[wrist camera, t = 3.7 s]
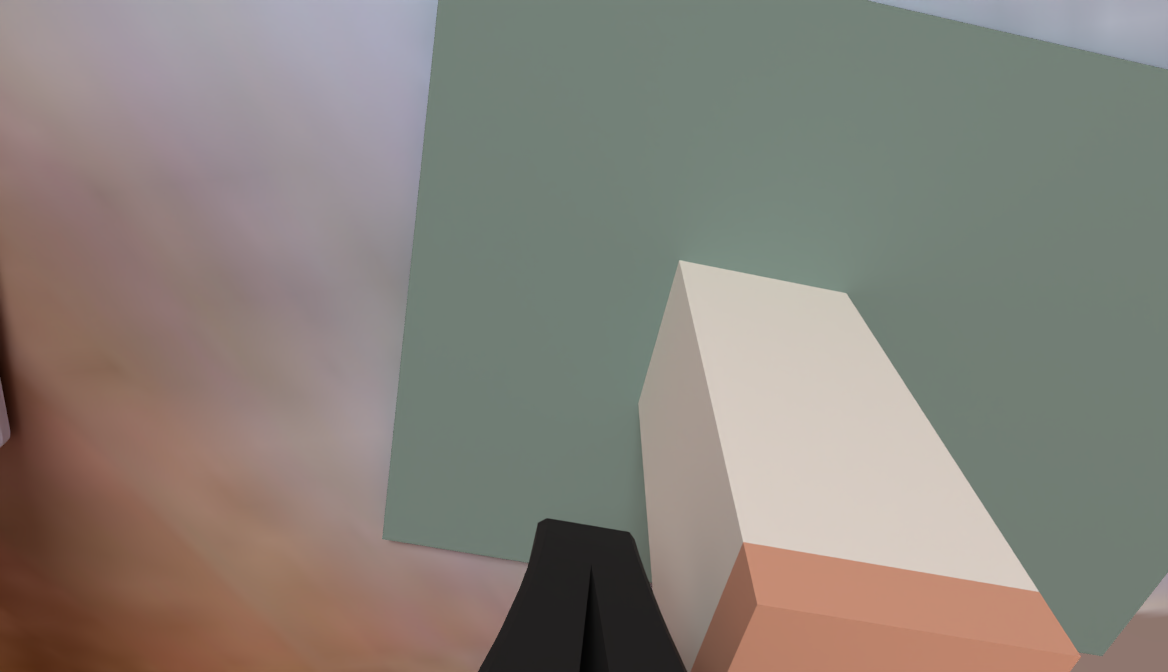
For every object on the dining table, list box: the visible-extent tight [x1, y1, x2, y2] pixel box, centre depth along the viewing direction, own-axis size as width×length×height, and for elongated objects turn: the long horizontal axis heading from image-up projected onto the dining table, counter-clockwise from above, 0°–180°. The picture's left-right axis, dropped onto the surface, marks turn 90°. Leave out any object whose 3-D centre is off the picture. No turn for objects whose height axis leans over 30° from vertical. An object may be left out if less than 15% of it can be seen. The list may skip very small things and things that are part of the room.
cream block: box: [638, 260, 1081, 672], centre depth 14 cm, size 4×4×10 cm
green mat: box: [382, 0, 1168, 656], centre depth 19 cm, size 22×16×1 cm
